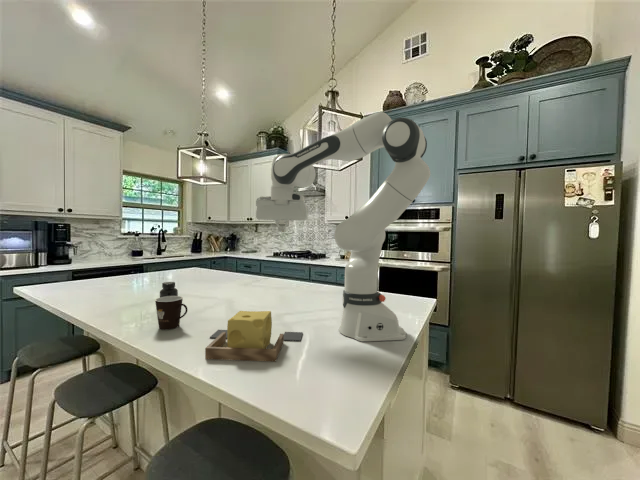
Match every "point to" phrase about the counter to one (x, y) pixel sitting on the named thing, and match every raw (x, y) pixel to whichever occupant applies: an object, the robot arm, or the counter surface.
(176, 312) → the coffee mug
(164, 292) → the supplement bottle
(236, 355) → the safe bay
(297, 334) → the pads
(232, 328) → the cheese
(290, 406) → the counter surface
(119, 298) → the counter surface
